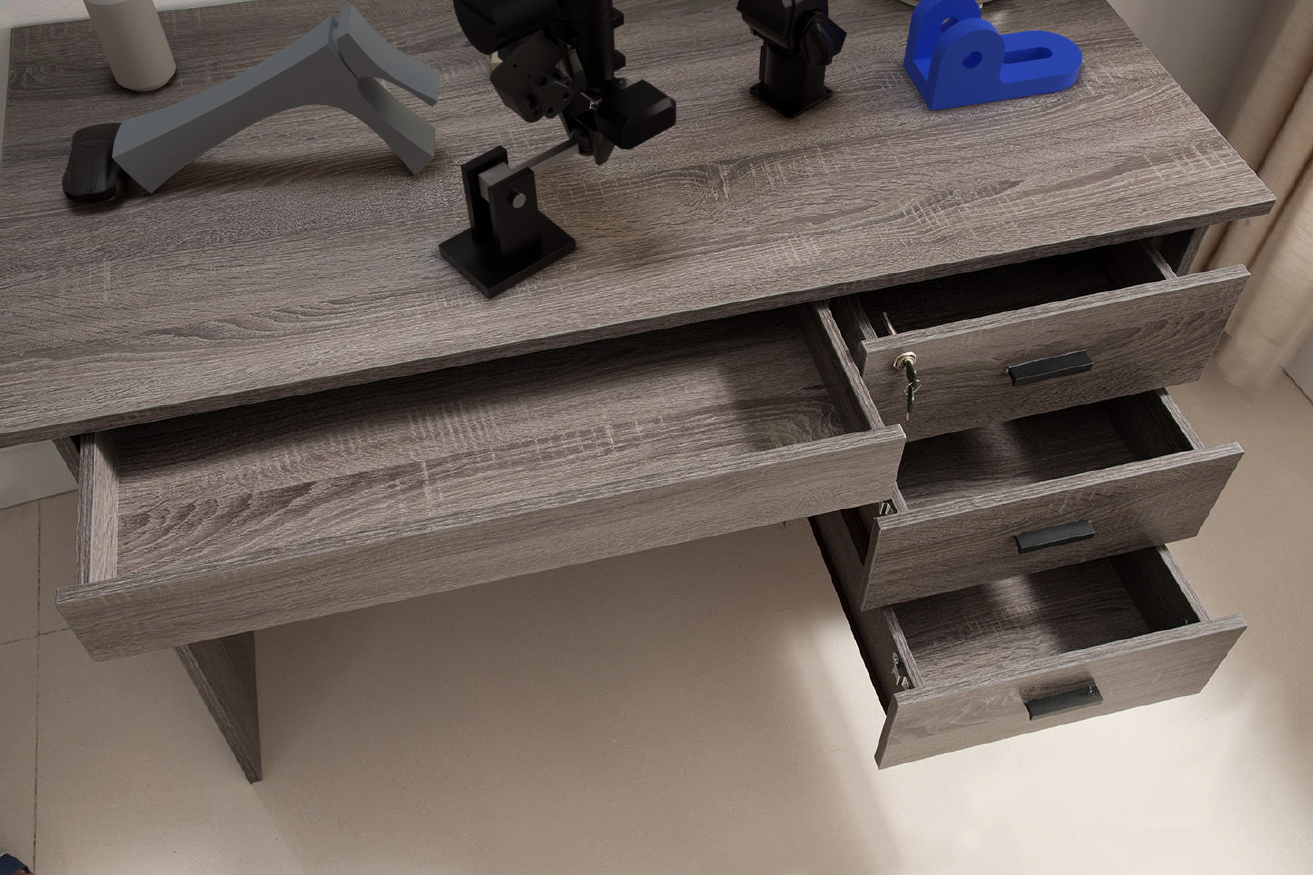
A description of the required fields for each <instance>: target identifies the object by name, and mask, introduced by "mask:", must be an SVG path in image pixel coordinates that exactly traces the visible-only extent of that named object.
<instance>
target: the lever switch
mask: <svg viewBox="0 0 1313 875" xmlns="http://www.w3.org/2000/svg"><path fill="white" fill-rule="evenodd" d="M502 162H504V163H506V164H507V165H508V166H509V167H510V163H509V155H508V150H507V149H506V148H505V147H504V146H502V145H501V144H499V145H498V146H496V147H493V148H491V149H490V150H487V151H486V152H483V153H482V154H480V155H478V156H476V157H473V158H471V159H470V160H468V161H466V162H464V163H462V164H461V165H460V172H461V177H462V178H461V179H462V184H463V191H464V197H465V203H466V209H467V215H468V222H469V227H467V229H464V230H463V231H461V232H458V233H457V234H455V235H452V236H451V237H450V238H448V239H446V240H444V241H442V242H440V243H439V244H438V251H439V254H440V255H441V256H442V257H443V258H444V259H445V260H446V261H447V262H448V263H449V264H450V265H451V266H453V267H454V268H455V269H456V270H457V271H458V272H460V273H461V274H462V276H464V277H465V279H467V280H468V281H469V282H470V283H471V284H473V285H474V286H475V287H476V288H477V289H478V290H479V291H480V292H481V293H483V294H484V295H485V296H486V297H487V298H488V299H489V300H491V299H493V298H495V297H497V296H498V295H500V294H502V293H504V292H505V291H507V290H508V289H511V288H512V287H514V286H515V285H517V284H519V283H522V282H523V281H525V280H527V278H530V277H532V276H534V275H535V274H537V273H538V272H540V271H542V270H544V269H546V268H548V267H549V266H551V265H554V263H556V262H558V261H560V260H562V259H563V258H565V257H566V256H568V255H570V254H572V253H574V252H576V251H577V240H576V239H575V238H573V237H572V236H571V235H570V234H569V233H567V231H565V230H564V229H562V228H561V226H559V225H558V224H556V223H555V222H554V221H553V220H552V219H551V218H549V217H548V216H547V215H546V214H544V213H543V212H542V211H541V210H539V203H538V195H537V186H536V185H537V184H536V175H534V171H533V170H531V169H530V168H529V167H525V168H523V169H522V170H520V171H518V172H516V173H514V174H512V175H510V176H508V177H506V178H504V179H503V180H501V181H499V182H497V183H495V184H493V185H491V186H489V187H487V192H488V199H489V202H488V201H487V200H486V199H484V198H483V197H482V196H481V192H480V185H479V178H478V175H479V174H480V173H482V172H484V171H486V170H488V169H490V168H492V167H494V166H496V165H498V164H500V163H502Z"/></svg>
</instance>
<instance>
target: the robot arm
mask: <svg viewBox="0 0 1313 875" xmlns="http://www.w3.org/2000/svg"><path fill="white" fill-rule="evenodd" d="M452 4H453V9H454V13H455V16H456V19H457V22H458V25H459V26H460V28H461V31H462V32H463V34H464V36H465V37H466V39H467V40H468V42H469V44H471V46H473V48H475V49H476V51H478V52H479V53H481V54H483V55H485V56H491V55H492V54H493V53H495V52H497V53H498V58H499V59H500V60H502V62H501V63H500V64H499V65H498V66H497V67H496V68H495V69H494V70H493V71H492V70H491V72H490V75H489V81H490V83H491V85H492V86H493V88H494V90H495V91H496V93H497V95H498V97H499V98H500V99H501V102H502V103H503V105H504V106H505V107H506V108H507V109H509V110H511V111H512V112H514V113H515V114H517V116H519V117H520V118H521V119H522V120H523V121H524V122H526V123H529V124H534V123H536V122H539V121H540V120H541V119H542V118H544V117H545V118H546V119H547V120H552V119H554V118H556V117H557V116H558V119H559V120H560V122H561V124H562V126H563V128H564V130H565V133H566V135H567V137H568V140H569V139H570V135H571V132H572V130H573V128H574V127H575V126H576V125H577V124H578V123H581V124H583V125H584V126H585V127H587V128H588V129H589V135H590V140H591V146H592V151H593V156H592V157H593V159H594V163H595V164H596V166H602V165H604V164H605V163H607V162H608V160H609V158H610V156H611V155H612V152H614V149H615V147H617V148H618V149H620V150H626V151H631V150H633V149H634V148H637V147H638V146H641V145H642V144H644V143H646V142H647V141H649V140H651V139H652V138H654V137H657V136H658V135H660V134H662V133H664V132H665V131H667V130H668V129H672V127H674V126H676V125H677V100H675V99H674V98H672V97H671V96H670V95H668V94H666V93H665V92H663V90H661V89H659V88H658V87H656V86H655V85H653V84H652V83H650V82H649V81H647V80H645V79H643V78H641V79H640V80H638V81H636V82H633V81H632V80H631V79H629V78H628V77H623V76H622V77H616V76H615V72H617V71H619V70H621V69H623V68H625V67H626V66H627V57H626V55H625V54H623V53H622V52H621V51H619V50H618V49H616V41H615V38H616V37H615V29H618V28H619V27H622V26H624V25H625V13H623V12H622V11H621V10H619V9H617V8H616V7H614V0H452ZM735 11H738V12H739V13H740V14H741V19H742V21H743V23H745V24H746V25H747V26H748V27H749V32H750V34H751V35H753V36H755V37H758V38H759V39H760V40H762V45H760V49H759V50H760V51H759V52H760V53H759V65H758V66H759V67H758V80H759V82H757V83H755V84H753V85H750V87H749V91H748V92H749V94H750V95H752V96H753V97H754V98H756V99H758V100H759V101H760V102H762V103H764V104H765V105H766V106H769V107H770V108H771V109H773V110H774V111H776V112H777V113H778V114H780V115H782V116H783V117H785V118H786V119H788V120H793V119H795V118H797V117H798V116H800V115H802V114H804V113H806V112H807V111H809V110H811V109H813V108H814V107H816V106H818V105H820V104H822V103H823V102H825V101H827V100H829V99H830V98H832V97H833V94H834V91H833V90H832V89H831V88H829V87H828V86H827V85H825V80H826V79H825V78H826V70H827V66H829V65H830V64H832V62H833V58H834V57H835V56H837V55H838V54H840V53H841V52H842V49H843V46H844V44H845V41H846V38H847V35H848V33H847V31H845V30H844V29H843V28H842V27H841V26H840V25H838V24H837V23H836V22H835V21H833V20H832V19H831V18H830V17H829V14H830V13H829V0H738V2H737V4H736V7H735ZM591 102H592V103H591Z"/></svg>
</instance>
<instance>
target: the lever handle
mask: <svg viewBox="0 0 1313 875" xmlns="http://www.w3.org/2000/svg"><path fill="white" fill-rule="evenodd" d="M577 154H578V155H580V156H582V157H585V158H588V157H589V158H590V157H594V156H593V151H592V146H591V140H590V135H589V129H588V128H587V127H585V126H584V125H583V124H581V123H578V124H577V125H576V126H575V127H574V128H573V130H572V132H571V135H570V139H569V138H568V139H567V140H565V141H563V142H560V143H559V144H557V145H555V146H553V147H551V148H549V149H547V150H546V151H543V152H541V153H539V154H538V155H535V156H534V157H532V158H530V159H528V160H526V161H524V162H522V163H520V164H518V165H516V166H514V167H511V166H510V165H509V166H508V165H507V164H506V163H504V162H502V163H500V164H498V165H496V166H494V167H492V168H490V169H488V170H486V171H484V172H482V173H480V174H479V175H478V178H479V185H480V192H481V196H482V197H483V198H484V199H486V200H487V201H488V202H489V199H488V192H487V187H489V186H491V185H493V184H495V183H497V182H499V181H501V180H503V179H504V178H506V177H508V176H510V175H512V174H514V173H516V172H518V171H520V170H522V169H523V168H525V167H529V168H530V169H531V170H533V171H534V175H535V176H537V175H539V174H540V173H542V172H544V171H546V170H548V169H550V168H552V167H554V166H556V165H558V164H560V163H561V162H564V161H565V160H567V159H569V158H571V157H573V156H575V155H577Z"/></svg>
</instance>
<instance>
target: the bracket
mask: <svg viewBox="0 0 1313 875" xmlns="http://www.w3.org/2000/svg"><path fill="white" fill-rule="evenodd" d="M1082 62H1083V53H1082V50H1081V49H1080V47H1079V46H1078V44H1076V43H1075V42H1074V41H1073V40H1071V39H1070V38H1068V37H1066V36H1064V35H1061V34H1059V33H1056V32H1052V31H1047V30H1035V29H1034V30H1025V31H1018V32H1011V33H1004V34H1000V33H999V32H998V30H997V29H996V27H995V26H994V25H993V24H992V22H990V21H988V20H987V19H984V18H982V11H981V8H980V5H979V3H978V2H977V1H976V0H919V1H918V3H917V5H916V6H915V8H914V9H913V12H912V14H911V16H910V23H909V28H908V34H907V40H906V46H905V52H904V56H903V64H902V66H903V68H904V69H905V72H906V73H907V74H908V76H909V78H910V79H911V81H912V83H913V84H914V86H915V87H916V89H917V91H918V92H919V94H920V96H921V97H922V99H923V100H924V102H925V104H926V106H927V107H928V109H929V111H932V112H933V111H940V110H944V109H945V110H946V109H951V108H952V109H953V108H959V107H964V106H965V107H967V106H972V105H978V104H984V103H992V102H998V101H1003V100H1010V99H1017V98H1018V99H1019V98H1023V97H1024V98H1025V97H1032V96H1037V95H1042V94H1043V95H1045V94H1050V93H1057V92H1060V91H1064V90H1066V89H1069V88H1070V87H1071V86H1072V85H1073V84H1074V83H1075V82H1076V81H1077V78H1078V75H1079V73H1080V69H1081V67H1082Z"/></svg>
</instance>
